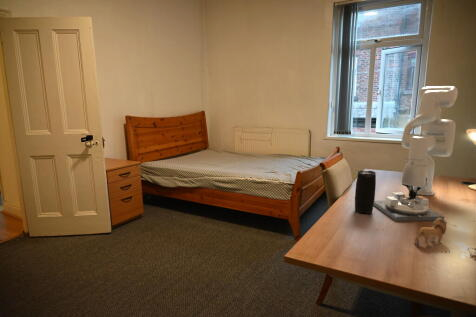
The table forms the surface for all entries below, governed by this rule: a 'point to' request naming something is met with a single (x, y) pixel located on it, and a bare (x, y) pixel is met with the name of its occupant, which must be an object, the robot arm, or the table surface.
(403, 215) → the grey square base plate
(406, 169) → the robot arm
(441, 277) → the table surface
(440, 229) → the lion figurine
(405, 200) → the silver hub plate
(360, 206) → the portable speaker
